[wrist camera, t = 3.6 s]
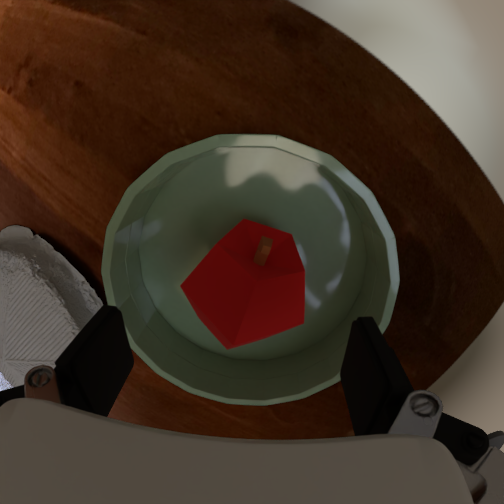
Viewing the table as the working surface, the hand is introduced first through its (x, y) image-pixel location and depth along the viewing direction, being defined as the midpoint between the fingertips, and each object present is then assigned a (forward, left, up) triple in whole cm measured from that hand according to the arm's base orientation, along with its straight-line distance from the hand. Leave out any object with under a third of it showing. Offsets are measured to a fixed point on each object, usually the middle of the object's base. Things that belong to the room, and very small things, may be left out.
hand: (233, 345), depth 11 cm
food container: (+20, +7, -9) cm, 23 cm away
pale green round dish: (0, 0, -8) cm, 8 cm away
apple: (0, 0, -8) cm, 8 cm away
